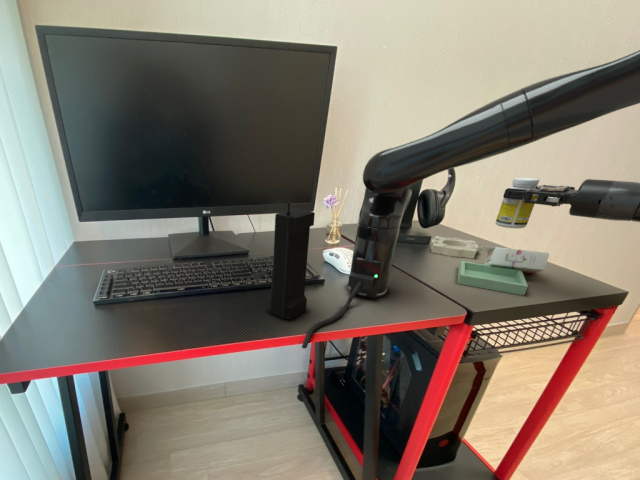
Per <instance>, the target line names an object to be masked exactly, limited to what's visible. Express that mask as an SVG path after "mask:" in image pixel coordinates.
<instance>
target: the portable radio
mask: <svg viewBox="0 0 640 480" xmlns="http://www.w3.org/2000/svg"><path fill="white" fill-rule="evenodd" d="M286 204H287V210H285V211H281V212H277V213H275V215H274V216H275V217H274V238H273V239H274V240H273V241H274V242H273V258H272V259H273V261H272V270H271V283H270V284H271V287H270V298H269V307H268V308H269V313H270V314H272V315H275V316H276V317H279V318H281V319H284V320H288V321H291V320H293V319H294V318H296V317H298V316H299V315H301V314H302V313H304V312H305V311H306V310H307V303H308V302H307V301H308V299H307V297H306V295H305V290H306V289H305V288H306V277H307V265H308V255H309V243H310V242H309V241H310V230H311V227H312V226H314V225H315V215H316V213H315V212H314V211H312V210H308V209H302V208H296V207H295V208H293V209H290V206H291V201H287V202H286Z"/></svg>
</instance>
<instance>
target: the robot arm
mask: <svg viewBox="0 0 640 480" xmlns="http://www.w3.org/2000/svg"><path fill="white" fill-rule="evenodd" d="M638 104H640V49H639V50H637V51H635V52H632V53H630V54H628V55H625V56H623V57H619V58H617V59H614V60H612V61H609V62H605V63H603V64H599V65H596V66H595V65H594V66H591V67H587V68H584V69H579V70H576V71H572V72H568V73H563V74H560V75H556V76H553V77H549V78H546V79H542V80H540V81H536V82H534V83H532V84H529V85H527V86H524V87H521V88H520V89H519V88H518V89H517V90H514V91H512V92H510V93H508V94H506V95H503V96H501V97H499V98H497V99H494V100H492V101H490V102H488V103H486V104H484V105H482V106H481V107H478V108H476V109H475V110H473V111H470V112H469V113H467V114H465V115H463V116H462V117H460V118H458V119H456V120H455V121H453V122H451V123H449V124H447V125H446V126H444V127H443V128H441V129H439V130H437V131H435V132H433V133H431V134H429V135H426V136H424V137H420V138H418V139H416V140H415V139H414V140H413V141H409V142H407V143H404V144H400V145H398V146H394V147H389V148H385V149H382V150H380V151H378V152H376V153H375V154H374V155H373V156H371V157H370V159H368V161H367V163H366V164H365V166H364V169H363V172H362V182H363V185H364V187H365V190H364V196H363V200H362V205H361V207H360V211H359V214H358V221H357V227H356V233H355V237H354V238H355V239H354V244H353V252H352V259H351V264H350V272H349V275H348V282H347V290H348V291H349V294H350V295H349V297H348V299H347V300H346V303H345V304H344V306H343V307H342V309H340V311H339V312H337V313H336V314H334V315H333V316H331V317H329V318H326V319H324V320H321V321H318V322H316V323H315V324H313V325H312V326H311V327H310V328H309V329H308V330H307V331H306V334H305V336H304V339H303V342H302V345H301V348H302V349H307V348H308V346H309V343H310V340H311V337H312V334H313V332H314V331H316V330H317V329H318V328H320V327H322V326H324V325H328V324H330V323H333V322H335V321H336V320H338V319H340V318H341V317H342V316H344V314H345V313H346V312H347V310H348V308H349V307H350V306H351V303H352V301H353V299H354V298H355V296H359V297H364V298H368V299H373V300H376V299H377V298H380V297H384V296H385V295H386V294H387V290H388V284H389V281H390V280H389V279H390V276H391V275H390V274H391V269H392V265H393V260H394V255H395V252H396V246H397V242H398V238H399V233H400V228H401V224H402V220H403V216H404V212H405V209H406V205H407V200H408V196H409V192H410V191H409V190H410V187H411V186H413V185H414V184H416V183H419V182H421V181H423V180H426V179H428V178H430V177H432V176H434V175H437V174H439V173H442V172H445V171H448V170H452V169H454V168H459V167H462V166H466V165H470V164H473V163H476V162H480V161H483V160H487V159H489V158H492V157H495V156H498V155H501V154H505V153H508V152H510V151H513V150H516V149H518V148H521V147H524V146H527V145H529V144H532V143H535V142H538V141H540V140H543V139H545V138H548V137H550V136H553V135H557V134H558V133H561V132H564V131H567V130H569V129H572V128H576V127H578V126H581V125H583V124H585V123H588V122H591V121H593V120H595V119H598V118H601V117H603V116H606V115H608V114H611V113H614V112H617V111H620V110H623V109H626V108H630V107H632V106H635V105H638ZM535 189H537V190H531V189H527V190H526V189H514V188H512V187H508V188H506V189H505V190H504V193H503V198H508V199H518V200H522V201H523V202H525V203H533V204H535V205H543V206H551V207H560V206H562V205H570V208H569V211H568V214H569V215H570V216H573V217H582V218H589V219H597V220H606V221H613V222H614V221H615V222H616V221H617V222H619V221H620V222H635V223H640V182H636V181H628V180H627V181H625V180H611V179H609V180H608V179H592V178H587V179H585V180H584V181H582V183H581V184H580V185H579V187H578V189H576V187H575V186H570V185H554V184H548V185H546V184H542V185H539V184H538V185H537V186H535ZM533 194H537V196H536V198H535V199H532V196H533Z"/></svg>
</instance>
